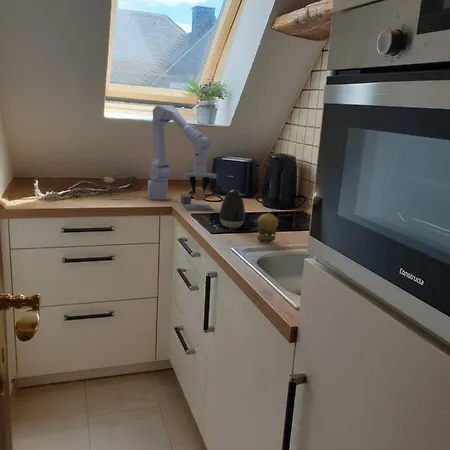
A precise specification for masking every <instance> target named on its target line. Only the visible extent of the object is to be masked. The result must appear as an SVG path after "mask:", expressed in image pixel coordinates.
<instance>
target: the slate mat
mask: <svg viewBox="0 0 450 450" xmlns="http://www.w3.org/2000/svg"><path fill="white" fill-rule="evenodd" d="M182 205H183V207H184V208H185V210H186V209H187V210H186V211H214V208H213V207H212V206H211V205H210V204H207V203H206V204H205V203H203V204H202V203H201V204H199V203H197V204H196V203H195V204H193V203H191V204H182Z"/></svg>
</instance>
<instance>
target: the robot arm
mask: <svg viewBox="0 0 450 450" xmlns="http://www.w3.org/2000/svg"><path fill="white" fill-rule="evenodd" d="M170 121H173V122H174V123H175V124H176V125H177V126H178V127H179V128H180V129H181V130H182V131H183V135H184V136H185V137H186V138H187V139H188V141H189V142H190V143H191V145H192V148H193V153H194V154H193V156H194V157H193V172H183V179H185V178H188V179H189V181H190V185H191V189H192V195H193V194H195V187H197V186H196V185H197V179H199V178H200V179H201V180H202V181H201V183H202V186H201V188H203V189H204V194H205V192H206V189H207V187H208V184H209V183H210V181H211V179H216V178H217V177H216V175H217V174H216V173H209V172H208V173H207V168H208V167H207V164H208V149H210V147H211V145H212V143H211V139H210V138H209V137H208V136H206V135H205V136H204V135H203V133H202V132H200V131H199V129H197V126H195V125H194V124H189V123H188V122H187V121H186V119H184V117H183V116H182V115H181V114H180V112H179V109H178V108H177V107H176V106H174V105H172V104H171V105H170V104H169V105H168V104H167V105H164V104H163V105H162V104H157V105H155V107H154V108H153V109H152V119H151V128H152V143H153V157H154V158H153V161H152V162H151V163H150V165H149V166H150V169H149V177H150V178H151V179H148V180H147V193H146V196H147V198H148V200H154V201H155V200H159V201H161V200H162V201H163V200H165V201H166V200H167V201H168V200H169V199H170V198H169V197H168V187H169V186H168V184H169V180H170V178H171V176H172V172H173V171H172V169H171V166H170V164H171V163H170V162H169V161H168V160H167V156H166V140H165V137H166V136H165V126H166V125H167V124H168V123H169V122H170Z"/></svg>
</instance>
